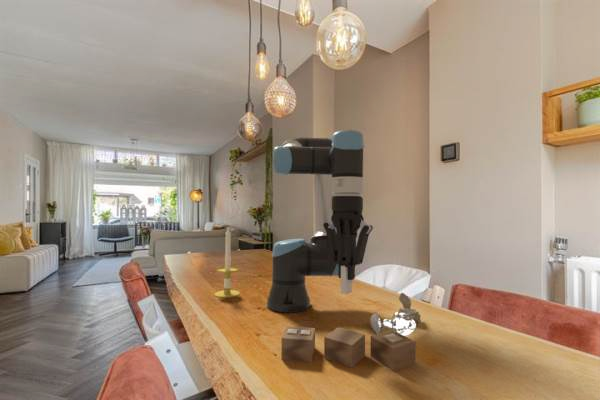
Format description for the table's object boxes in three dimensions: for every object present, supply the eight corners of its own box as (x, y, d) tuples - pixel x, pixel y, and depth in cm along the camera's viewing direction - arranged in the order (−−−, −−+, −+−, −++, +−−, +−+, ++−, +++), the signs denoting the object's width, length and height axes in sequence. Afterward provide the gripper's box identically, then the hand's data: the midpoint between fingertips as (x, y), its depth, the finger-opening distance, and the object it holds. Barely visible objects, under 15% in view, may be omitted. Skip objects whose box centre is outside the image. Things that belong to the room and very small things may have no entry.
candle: (236, 297, 116) (237, 227, 117) (210, 297, 116) (212, 227, 117) (242, 290, 126) (243, 226, 127) (218, 290, 126) (219, 225, 127)
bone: (419, 325, 85) (401, 291, 89) (399, 332, 89) (384, 299, 93) (428, 319, 92) (412, 288, 96) (410, 326, 95) (395, 295, 99)
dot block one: (370, 357, 70) (370, 334, 71) (392, 351, 74) (392, 329, 74) (392, 372, 64) (392, 346, 64) (415, 364, 68) (415, 340, 68)
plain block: (324, 359, 70) (324, 337, 70) (338, 347, 75) (338, 327, 75) (352, 368, 66) (352, 345, 66) (365, 355, 71) (365, 334, 71)
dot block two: (281, 360, 69) (281, 336, 69) (287, 346, 76) (287, 325, 76) (312, 362, 68) (312, 338, 68) (314, 348, 75) (315, 326, 75)
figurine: (370, 309, 90) (411, 306, 87) (373, 331, 90) (416, 329, 87) (368, 318, 82) (414, 314, 79) (372, 343, 81) (419, 340, 78)
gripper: (316, 195, 75) (315, 290, 75) (363, 194, 66) (362, 302, 66) (334, 195, 81) (333, 284, 81) (379, 195, 72) (378, 294, 72)
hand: (346, 292), depth 73 cm, fingers closed
